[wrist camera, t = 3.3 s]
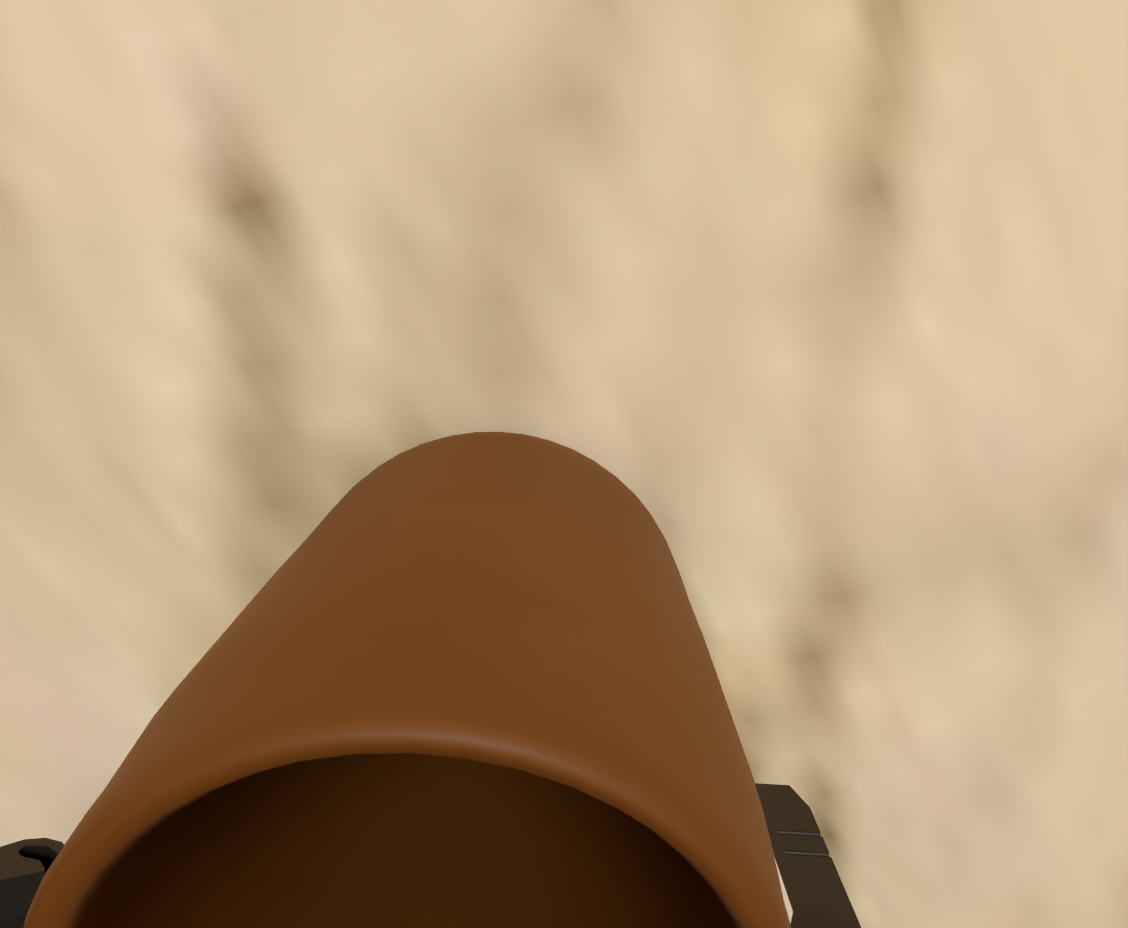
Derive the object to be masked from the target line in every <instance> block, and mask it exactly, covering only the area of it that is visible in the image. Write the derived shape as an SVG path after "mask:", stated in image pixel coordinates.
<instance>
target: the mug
mask: <svg viewBox="0 0 1128 928" xmlns="http://www.w3.org/2000/svg"><path fill="white" fill-rule="evenodd" d="M23 928H791V925H790V921H789V917H788V913H787V910H786V906H785V903H784V899H783V894H782V890H781V885H780V880H779V876H778V871H777V867H776V862H775V858H774V853H773V848H772V844H771V840H770V836H769V832H768V828H767V824H766V820H765V816H764V812H763V809H762V805H761V802H760V799H759V795H758V792H757V789H756V786H755V782H754V779H753V776H752V773H751V771H750V768H749V765H748V762H747V759H746V756H745V753H744V751H743V748H742V745H741V742H740V739H739V736H738V734H737V731H736V728H735V725H734V722H733V719H732V717H731V714H730V711H729V708H728V705H727V702H726V700H725V697H724V694H723V691H722V688H721V685H720V682H719V680H718V677H717V674H716V671H715V668H714V665H713V663H712V660H711V657H710V654H709V651H708V649H707V646H706V643H705V640H704V638H703V635H702V632H701V630H700V627H699V625H698V622H697V620H696V617H695V615H694V612H693V610H692V607H691V605H690V602H689V599H688V596H687V593H686V591H685V588H684V585H683V582H682V579H681V576H680V573H679V571H678V568H677V566H676V563H675V561H674V558H673V556H672V554H671V551H670V549H669V547H668V544H667V542H666V540H665V538H664V536H663V534H662V532H661V531H660V529H659V528H658V526H657V524H656V523H655V521H654V519H653V518H652V516H651V514H650V513H649V511H648V510H647V509H646V508H645V506H644V505H643V504H642V503H641V502H640V500H639V499H638V498H637V497H636V495H635V494H634V493H633V492H632V491H631V490H630V489H628V488H627V487H626V486H625V485H624V484H623V483H622V482H621V481H620V480H619V479H618V478H617V477H615V476H614V475H613V474H611V473H610V472H609V471H607V470H606V469H604V468H603V467H602V466H600V465H599V464H597V463H596V462H595V461H593V460H591V459H589V458H588V457H586V456H584V455H582V454H580V453H578V452H576V451H575V450H573V449H570V448H568V447H565V446H562V445H560V444H557V443H554V442H552V441H549V440H545V439H541V438H537V437H533V436H528V435H523V434H514V433H505V432H474V433H467V434H460V435H453V436H449V437H445V438H442V439H438V440H434V441H431V442H427V443H424V444H421V445H419V446H417V447H414V448H412V449H410V450H407V451H405V452H403V453H400V454H399V455H397V456H395V457H394V458H392V459H390V460H389V461H387V462H385V463H383V464H382V465H380V466H378V467H377V468H376V469H375V470H373V471H372V472H371V473H370V474H369V475H367V476H366V477H365V478H364V479H362V480H361V481H360V482H359V483H357V484H356V485H355V486H354V487H353V488H352V489H351V490H350V491H349V492H348V493H347V494H346V495H345V496H344V497H343V498H342V500H341V501H340V502H339V503H338V504H337V505H336V506H335V507H334V508H333V509H332V510H331V511H330V512H329V513H328V515H327V516H326V517H325V518H324V519H323V521H322V522H321V523H320V524H319V525H318V526H317V528H316V529H315V530H314V531H313V532H312V533H311V535H310V536H309V537H308V538H307V539H306V540H305V541H304V542H303V544H302V545H301V546H300V547H299V548H298V549H297V550H296V551H295V552H294V553H293V554H292V555H291V556H290V558H289V559H288V560H287V561H286V562H285V563H284V564H283V565H282V566H281V567H280V568H279V570H278V571H277V572H276V573H275V574H274V575H273V576H272V577H271V579H270V580H269V581H268V582H267V583H266V584H265V586H264V587H263V588H262V589H261V590H260V591H259V593H258V594H257V595H256V596H255V597H254V598H253V599H252V601H251V602H250V603H249V604H248V605H247V606H246V608H245V609H244V610H243V611H242V612H241V613H240V615H239V616H238V617H237V618H236V619H235V620H234V622H233V623H232V624H231V625H230V626H229V627H228V629H227V630H226V631H225V632H224V633H223V634H222V636H221V637H220V638H219V639H218V640H217V641H216V643H215V644H214V645H213V646H212V647H211V648H210V649H209V651H208V652H207V653H206V654H205V655H204V656H203V658H202V659H201V660H200V661H199V662H198V663H197V665H196V666H195V667H194V668H193V669H192V670H191V672H190V673H189V674H188V675H187V676H186V677H185V679H184V680H183V681H182V682H181V683H180V684H179V686H178V687H177V688H176V689H175V690H174V691H173V693H172V694H171V695H170V697H169V698H168V699H167V700H166V702H165V703H164V704H163V705H162V707H161V708H160V709H159V710H158V712H157V713H156V714H155V715H154V717H153V718H152V720H151V721H150V723H149V724H148V726H147V727H146V729H145V730H144V732H143V733H142V734H141V736H140V737H139V739H138V740H137V742H136V743H135V745H134V746H133V748H132V749H131V751H130V752H129V754H128V755H127V757H126V758H125V760H124V761H123V763H122V764H121V766H120V767H119V769H118V770H117V772H116V773H115V775H114V776H113V778H112V779H111V781H110V782H109V784H108V785H107V787H106V788H105V789H104V791H103V792H102V793H101V795H100V796H99V797H98V799H97V800H96V801H95V803H94V804H93V805H92V807H91V808H90V809H89V810H88V812H87V813H86V815H85V816H84V817H83V819H82V820H81V822H80V823H79V825H78V826H77V828H76V829H75V831H74V832H73V833H72V835H71V836H70V838H69V839H68V841H67V842H66V844H65V845H64V847H63V848H62V850H61V851H60V853H59V854H58V856H57V857H56V859H55V860H54V862H53V863H52V864H51V866H50V867H49V869H48V870H47V872H46V873H45V875H44V876H43V879H42V881H41V883H40V885H39V888H38V890H37V892H36V894H35V897H34V899H33V901H32V903H31V906H30V908H29V910H28V912H27V915H26V919H25V923H24V927H23Z"/></svg>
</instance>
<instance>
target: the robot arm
mask: <svg viewBox="0 0 1128 928" xmlns="http://www.w3.org/2000/svg"><path fill="white" fill-rule="evenodd" d="M755 786H756V789H757V792H758V795H759V799H760V802H761V805H762V809H763V812H764V816H765V820H766V824H767V828H768V832H769V836H770V840H771V844H772V848H773V853H774V858H775V862H776V867H777V871H778V876H779V880H780V885H781V890H782V894H783V899H784V903H785V906H786V910H787V913H788V917H789V921H790V925H791V928H861V926H860V924H859V921H858V919H857V917H856V914H855V912H854V910H853V907H852V905H851V903H850V900H849V898H848V896H847V893H846V891H845V889H844V886H843V884H842V882H841V879H840V877H839V875H838V872H837V870H836V868H835V865H834V863H833V861H832V858H831V857H829V851H828V849H827V847H826V844H825V842H824V840H823V837H821V836H820V830H819V828H818V826H817V823H816V821H815V818H814V816H813V814H812V811H811V809H810V807H809V806H808V805H807V804H806V803H805V802H804V801H803V800H802V799H801V798H800V796H799V795H798V794H797V793H796V792H795V791H794V790H793V789H792V788H791V787H790V786H789V785H773V784H756V783H755ZM63 847H64V844H63V843H62V842H59V841H55V840H51V839H47V838H39V839H27V840H22V841H18V842H15V843H12V844H9V845H5V846H2V847H0V928H23V927H24V923H25V919H26V915H27V912H28V910H29V908H30V906H31V903H32V901H33V899H34V897H35V894H36V892H37V890H38V888H39V885H40V883H41V881H42V879H43V876H44V875H45V873H46V872H47V870H48V869H49V867H50V866H51V864H52V863H53V862H54V860H55V859H56V857H57V856H58V854H59V853H60V851H61V850H62V848H63Z"/></svg>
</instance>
